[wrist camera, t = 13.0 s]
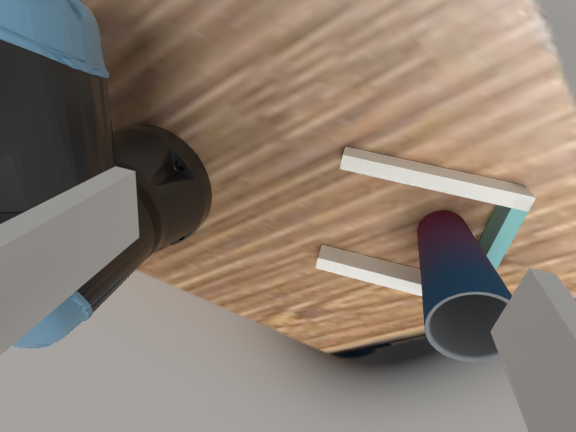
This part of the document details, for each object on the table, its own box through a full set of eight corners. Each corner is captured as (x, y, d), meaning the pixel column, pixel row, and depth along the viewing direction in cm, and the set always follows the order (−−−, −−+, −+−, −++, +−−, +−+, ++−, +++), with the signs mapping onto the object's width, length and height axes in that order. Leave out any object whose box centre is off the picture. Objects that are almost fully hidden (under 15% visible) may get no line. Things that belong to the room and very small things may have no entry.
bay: (319, 254, 44) (315, 268, 41) (345, 146, 37) (342, 154, 34) (467, 292, 42) (473, 309, 39) (524, 185, 35) (536, 197, 32)
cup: (479, 251, 39) (530, 359, 26) (415, 261, 41) (432, 365, 28) (471, 196, 37) (523, 286, 23) (403, 210, 39) (417, 298, 26)
